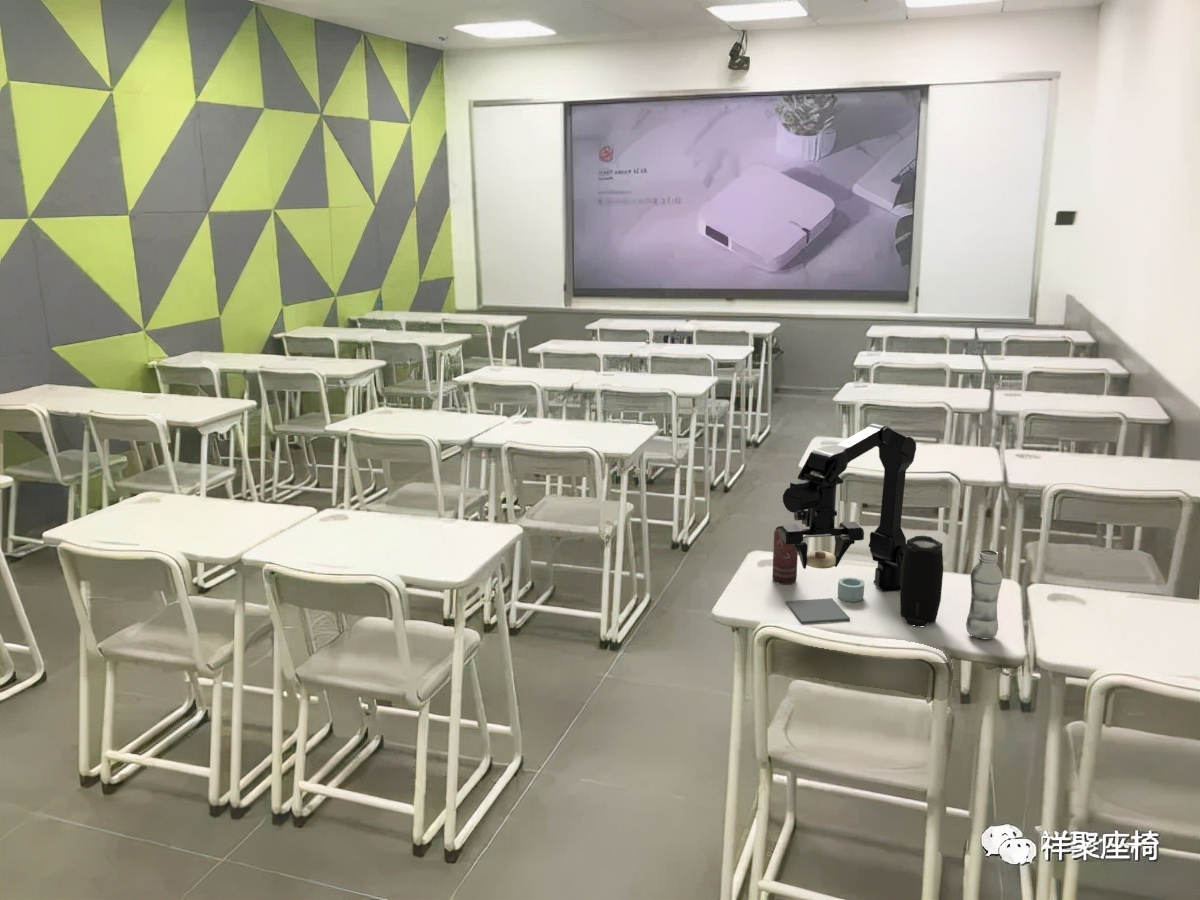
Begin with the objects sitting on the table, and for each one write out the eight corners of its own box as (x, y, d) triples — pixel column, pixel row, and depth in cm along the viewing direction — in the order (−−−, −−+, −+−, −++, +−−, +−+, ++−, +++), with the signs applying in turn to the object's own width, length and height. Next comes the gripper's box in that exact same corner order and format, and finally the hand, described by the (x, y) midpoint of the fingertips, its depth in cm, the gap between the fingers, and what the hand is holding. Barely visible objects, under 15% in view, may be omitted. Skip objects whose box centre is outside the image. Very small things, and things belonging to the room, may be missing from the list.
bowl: (857, 591, 236) (858, 576, 235) (867, 601, 230) (868, 586, 229) (834, 593, 235) (834, 578, 234) (843, 603, 229) (844, 587, 228)
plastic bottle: (994, 645, 207) (1003, 560, 202) (961, 638, 210) (969, 554, 205) (999, 634, 212) (1008, 550, 207) (967, 627, 215) (975, 545, 210)
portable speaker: (909, 609, 226) (915, 531, 221) (946, 621, 219) (953, 541, 214) (890, 619, 220) (896, 540, 215) (927, 632, 213) (934, 551, 208)
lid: (829, 556, 225) (829, 546, 225) (840, 567, 218) (840, 557, 218) (800, 558, 225) (800, 548, 224) (810, 569, 218) (810, 559, 217)
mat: (831, 600, 231) (832, 598, 231) (849, 620, 220) (850, 618, 220) (785, 603, 230) (786, 601, 229) (801, 623, 218) (801, 621, 218)
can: (799, 584, 241) (801, 532, 237) (774, 584, 241) (776, 532, 237) (795, 575, 247) (797, 524, 243) (770, 575, 247) (772, 524, 243)
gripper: (848, 491, 227) (845, 552, 231) (773, 495, 224) (771, 557, 228) (866, 506, 216) (862, 569, 220) (787, 510, 214) (785, 574, 218)
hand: (819, 567), depth 222 cm, fingers closed on lid, 7 cm apart
